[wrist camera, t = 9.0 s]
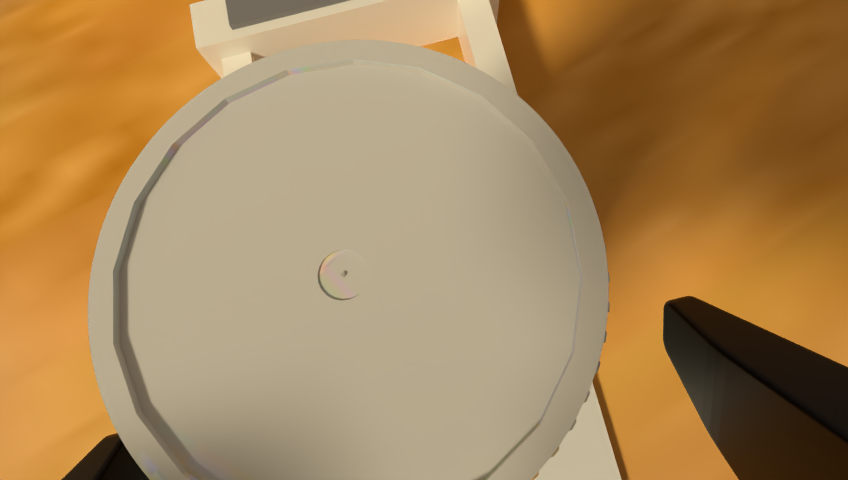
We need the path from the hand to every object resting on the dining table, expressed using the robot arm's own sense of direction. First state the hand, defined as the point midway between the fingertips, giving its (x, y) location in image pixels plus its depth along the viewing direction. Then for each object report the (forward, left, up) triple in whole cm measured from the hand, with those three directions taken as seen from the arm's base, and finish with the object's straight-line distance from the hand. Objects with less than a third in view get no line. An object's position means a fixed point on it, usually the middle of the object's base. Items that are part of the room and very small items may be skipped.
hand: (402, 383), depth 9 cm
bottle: (+1, -1, -12) cm, 12 cm away
